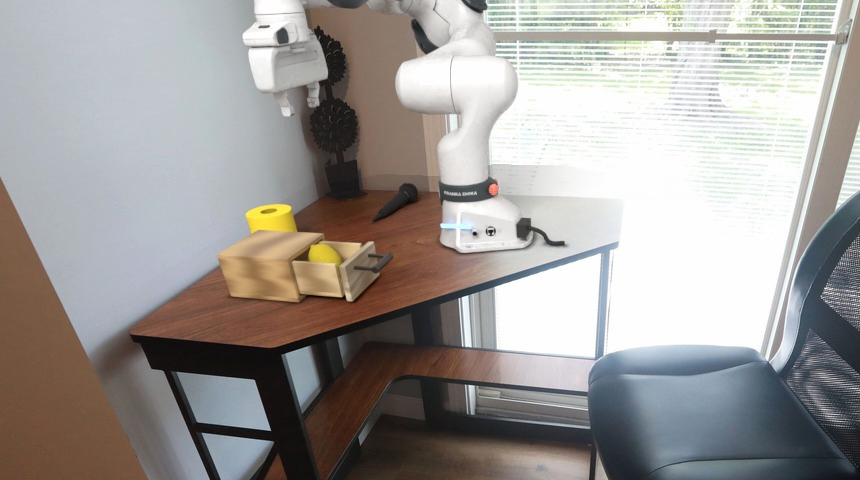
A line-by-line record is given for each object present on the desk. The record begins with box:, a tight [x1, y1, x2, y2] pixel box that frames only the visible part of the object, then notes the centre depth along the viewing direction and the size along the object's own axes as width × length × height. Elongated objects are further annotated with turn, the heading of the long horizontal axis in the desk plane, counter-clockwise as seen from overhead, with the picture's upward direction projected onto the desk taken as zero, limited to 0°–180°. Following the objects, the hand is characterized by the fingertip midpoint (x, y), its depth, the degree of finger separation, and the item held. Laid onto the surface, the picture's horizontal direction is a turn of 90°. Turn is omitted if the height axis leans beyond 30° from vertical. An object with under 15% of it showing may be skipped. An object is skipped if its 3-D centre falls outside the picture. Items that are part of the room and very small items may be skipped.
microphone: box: [372, 182, 419, 222], centre depth 155 cm, size 6×6×20 cm
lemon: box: [308, 244, 342, 276], centre depth 114 cm, size 6×6×8 cm
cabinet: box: [216, 230, 326, 303], centre depth 116 cm, size 16×14×9 cm
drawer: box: [290, 240, 394, 302], centre depth 113 cm, size 20×12×7 cm, turn 76°
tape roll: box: [245, 203, 298, 234], centre depth 133 cm, size 10×10×9 cm
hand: (302, 111), depth 114 cm, fingers open, 8 cm apart
